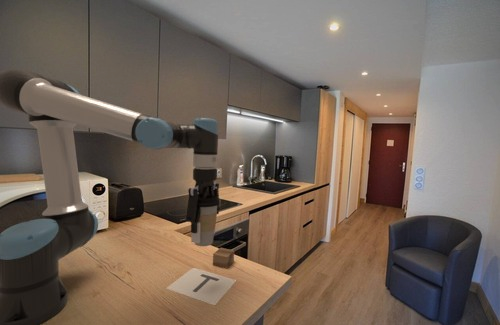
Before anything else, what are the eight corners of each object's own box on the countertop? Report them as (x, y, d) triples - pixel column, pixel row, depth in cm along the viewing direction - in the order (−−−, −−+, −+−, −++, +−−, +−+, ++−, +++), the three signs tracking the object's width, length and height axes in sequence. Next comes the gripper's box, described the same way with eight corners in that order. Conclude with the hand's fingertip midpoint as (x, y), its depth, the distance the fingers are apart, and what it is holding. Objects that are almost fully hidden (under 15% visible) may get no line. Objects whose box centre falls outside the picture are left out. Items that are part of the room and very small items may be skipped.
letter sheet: (214, 306, 66) (214, 305, 66) (166, 289, 73) (166, 288, 73) (236, 280, 79) (236, 280, 79) (193, 268, 86) (193, 267, 86)
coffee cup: (189, 250, 70) (190, 201, 69) (188, 237, 79) (189, 194, 78) (220, 247, 72) (221, 200, 71) (216, 235, 81) (217, 193, 80)
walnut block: (226, 270, 86) (227, 257, 86) (212, 266, 88) (213, 253, 88) (233, 262, 92) (234, 250, 91) (220, 259, 94) (220, 247, 94)
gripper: (195, 171, 63) (193, 253, 64) (231, 166, 82) (229, 229, 83) (173, 169, 65) (172, 247, 67) (212, 164, 85) (211, 225, 86)
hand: (203, 237), depth 75 cm, fingers closed on coffee cup, 8 cm apart
